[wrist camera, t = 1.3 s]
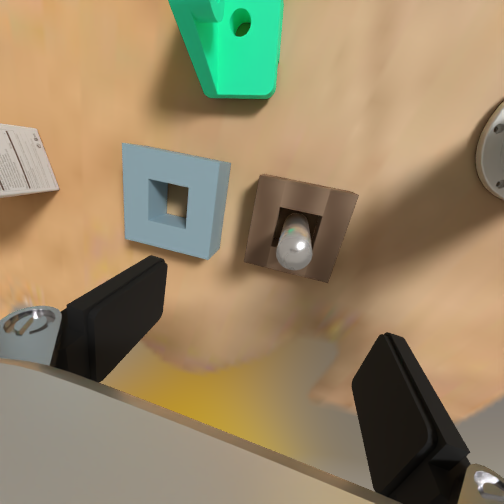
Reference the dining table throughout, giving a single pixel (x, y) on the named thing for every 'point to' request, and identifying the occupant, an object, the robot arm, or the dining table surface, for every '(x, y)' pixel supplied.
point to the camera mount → (232, 45)
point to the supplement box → (23, 163)
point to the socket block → (155, 199)
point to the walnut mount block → (305, 200)
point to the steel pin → (294, 243)
